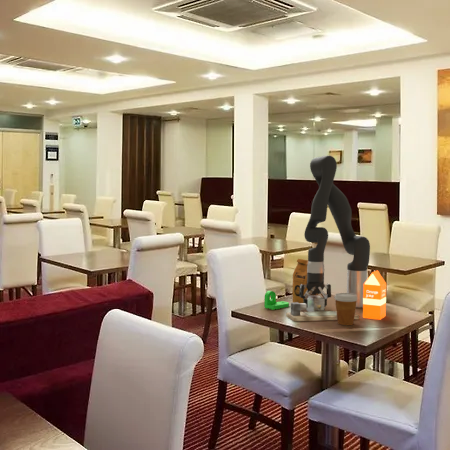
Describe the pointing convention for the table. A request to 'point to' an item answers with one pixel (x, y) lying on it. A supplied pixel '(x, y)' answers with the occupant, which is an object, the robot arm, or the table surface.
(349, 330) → the table surface
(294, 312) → the coupling stand
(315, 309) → the block
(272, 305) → the mechanical part
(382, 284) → the orange juice
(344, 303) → the disposable coffee cup
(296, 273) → the coffee package
